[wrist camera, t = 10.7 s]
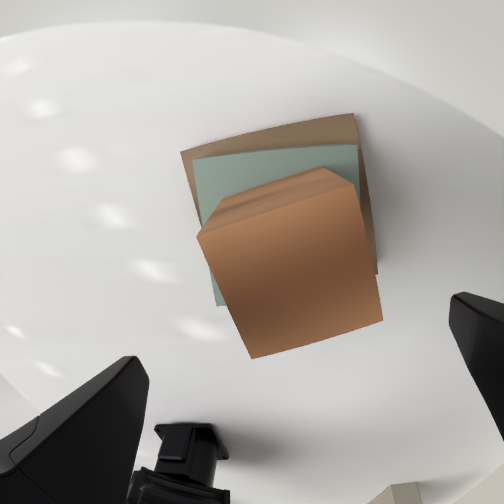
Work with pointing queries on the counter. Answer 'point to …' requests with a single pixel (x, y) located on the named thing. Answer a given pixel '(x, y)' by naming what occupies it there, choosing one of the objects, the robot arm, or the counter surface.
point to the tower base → (292, 135)
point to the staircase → (399, 495)
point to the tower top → (265, 174)
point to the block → (293, 261)
